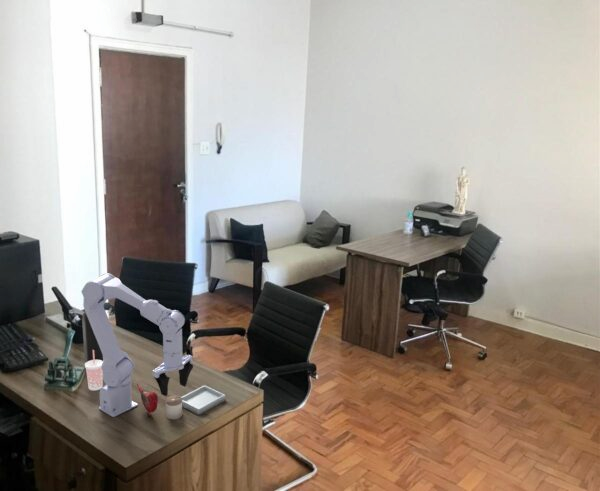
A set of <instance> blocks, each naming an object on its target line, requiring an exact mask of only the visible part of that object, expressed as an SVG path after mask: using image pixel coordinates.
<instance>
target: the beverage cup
mask: <svg viewBox="0 0 600 491" xmlns="http://www.w3.org/2000/svg"><path fill="white" fill-rule="evenodd" d="M102 363H103V361H102V360H95V356H94V350H93V360H90V361H88V362H86V363H85V362H84V368H85V372H86V377H87V385H88V387H87V388H88V390H89V391H100V389H101V388H103V387H104V385H103V384H104V380H103V371H102V368H101V366H102Z"/></svg>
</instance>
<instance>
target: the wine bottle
mask: <svg viewBox="0 0 600 491" xmlns="http://www.w3.org/2000/svg"><path fill="white" fill-rule="evenodd" d="M81 324H82V339H83V353H84V364H85V363H86V362H88V361H90V360H93V350H94V356H95V360H102V361H103V359H104V357H103V354H102V352H101V349H100V347H99V344H98V342H97V339H96V337H95V334H94V332H93V329H92V327H91V324H90V322H89V319H88V317H87V314H86V312H85V311H84V312H83V313H82V317H81Z"/></svg>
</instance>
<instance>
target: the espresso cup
mask: <svg viewBox="0 0 600 491" xmlns="http://www.w3.org/2000/svg"><path fill="white" fill-rule="evenodd" d="M165 414H166V418H167V419H170V420H177V419H180V418H182V416H183V407H182V396H180V395H176V394H175V395H170V396H168V397H166V399H165Z"/></svg>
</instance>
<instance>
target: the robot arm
mask: <svg viewBox="0 0 600 491" xmlns="http://www.w3.org/2000/svg"><path fill="white" fill-rule="evenodd" d="M81 294H82V296H83V302H82V303H83V304H82V305H83V309H84V312H86V314H87V317H88V319H89V322H90V324H91V327H92V329H93V332H94V334H95V337H96V339H97V342H98V344H99V347H100V349H101V352H102V354H103V363H102V366H101V368H102V371H103V383H105V385H103V387H102V388H101V389H99V407H98V409H99V410H101V411H102V412H103V413H105V414H107V415H108V416H111V417H112V418H114V417H118V416H119V415H121V414H123V413H126V412H127V411H129V410H132V409H133V408H135V407H137V406H138V405H139V404H138V403H137V402H135V401H133V398H132V397H133V396H132V395H133V394H132V374H133V372H134V371H135V363H134V362H133V360H132V359H131V358H130V356H129V355H128V352H125V351H124V350H121V347H120V345H119V343H118V340H117V338H116V334H115V332H114V330H113V327H112V324H111V322H110V319H109V316H108V315H107V312H106V309H105V307H104V306H105V303H106V302H107V300H114V299H118V300H120V301H122V302H124V303H126V304H128V305H129V306H132V307H133V308H136V309H137V310H139V311H140V312H139V313H140V316H142V317H143V318H145V319H147V320H149V322H152V323H153V324H155V325H157V326H158V327H159V330H160V332H161V333H162V346H163V348H162V350H163V362H162V363H161V364H160V365H159V366H157V367H156V368H155V369H153V370H152V377H153V378H154V380H155V381H156V383H157V386H158V387H159V391H160V394H161V395H163V396H164V397H166V396H168V393H169V392H168V391H169V382H170V379H171V378H170V376H169V377H168V376H167V374H166V373H168V372H171V371H176V370H178V375H179V376H178V377H179V380H178V381H179V385H180V386H183V388H184V387H186V386H187V382H188V380H189V376H190V374H191V372H192V370H193V368H194V365H193V364H192V363H193V362H194V360H193V358H194V357H193V356H192V355H191V354H187V355H184V356H183V328H182V327H183V326H184V325H185V321H186V319H185V316H184V314H183V313H182V312H180V311H179V310H178V309H177V310H176V309H173V310H172V309H171V308H167V307H165V306H164V305H162V304H160V303H159V301H158V300H156V299H147V300H146V299H145V298H143V297H142V296H141V295H139V294H138V293H137V292H135V291H133V290H132V289H130V288H129V287H127V286H126V285H125V284H123V283H122V281H121V280H120V278H118V277H116V276H115V275H113V274H112V273H103V274H101V275H100V276H98V277H97V278H95V279H93V280H91V281H88V282H86V283H85V284H84V286H83V287H82V289H81Z"/></svg>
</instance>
